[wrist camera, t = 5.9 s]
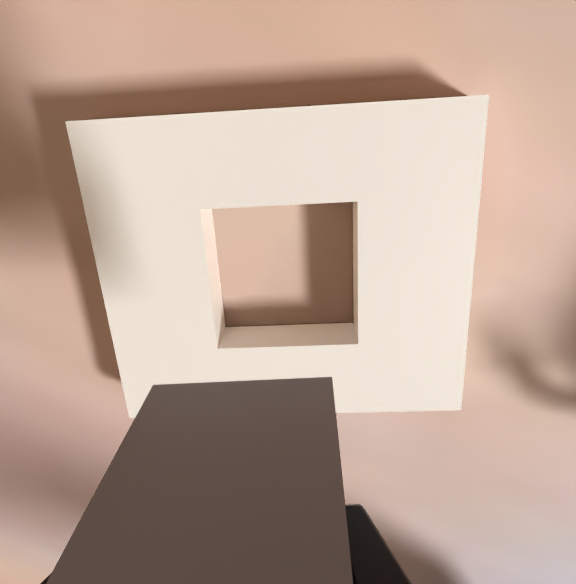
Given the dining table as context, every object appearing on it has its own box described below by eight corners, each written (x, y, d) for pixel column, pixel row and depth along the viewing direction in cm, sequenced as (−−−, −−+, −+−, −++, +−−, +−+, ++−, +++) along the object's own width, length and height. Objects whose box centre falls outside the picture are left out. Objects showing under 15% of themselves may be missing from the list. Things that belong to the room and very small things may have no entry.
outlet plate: (469, 96, 17) (489, 94, 15) (447, 383, 21) (460, 410, 19) (90, 120, 18) (65, 121, 16) (144, 391, 22) (129, 417, 20)
